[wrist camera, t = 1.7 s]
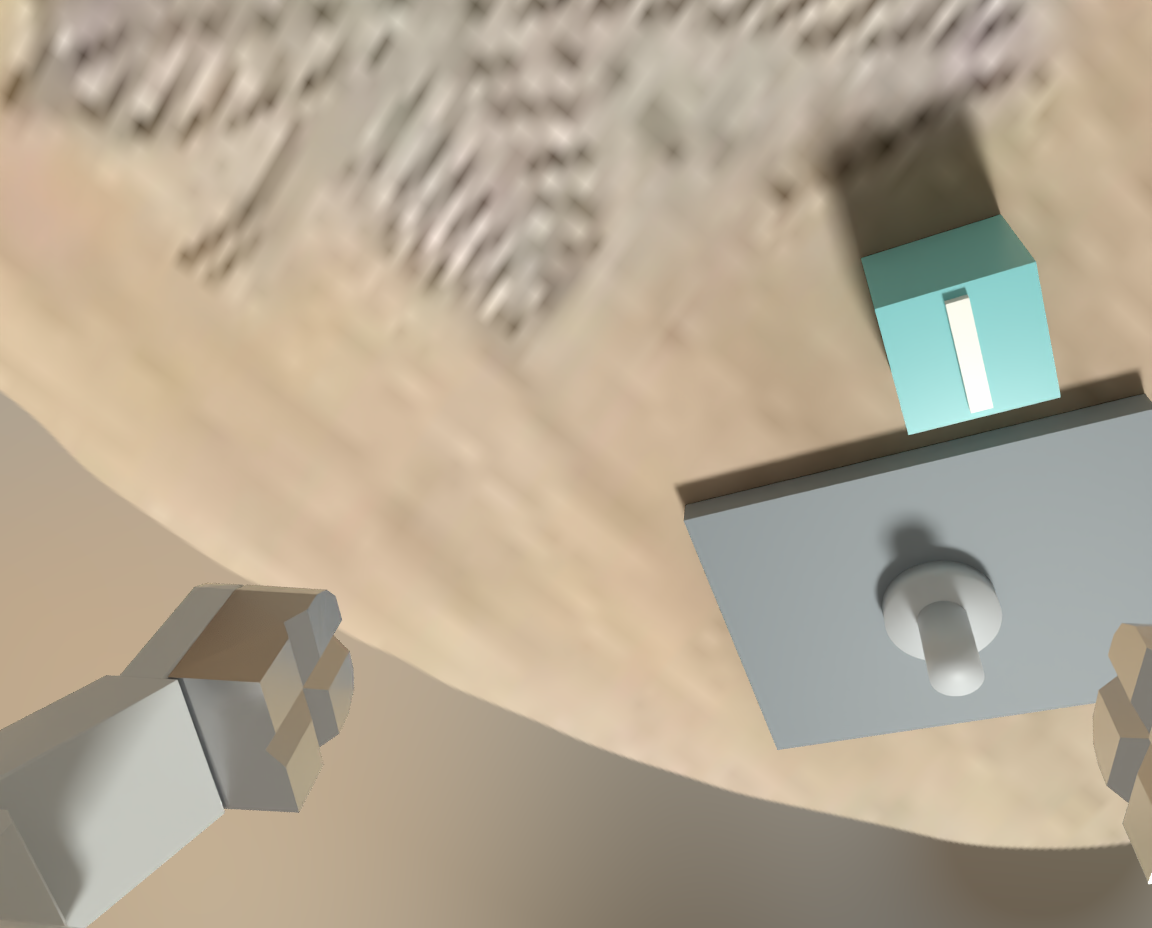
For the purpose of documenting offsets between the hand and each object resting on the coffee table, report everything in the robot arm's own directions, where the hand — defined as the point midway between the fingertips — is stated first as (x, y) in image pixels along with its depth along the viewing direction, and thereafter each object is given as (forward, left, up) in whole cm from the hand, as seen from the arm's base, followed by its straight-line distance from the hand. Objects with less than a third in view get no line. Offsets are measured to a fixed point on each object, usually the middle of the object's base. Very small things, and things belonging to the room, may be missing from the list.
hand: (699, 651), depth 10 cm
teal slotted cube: (-5, +8, -27) cm, 28 cm away
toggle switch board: (-2, +21, -27) cm, 34 cm away
